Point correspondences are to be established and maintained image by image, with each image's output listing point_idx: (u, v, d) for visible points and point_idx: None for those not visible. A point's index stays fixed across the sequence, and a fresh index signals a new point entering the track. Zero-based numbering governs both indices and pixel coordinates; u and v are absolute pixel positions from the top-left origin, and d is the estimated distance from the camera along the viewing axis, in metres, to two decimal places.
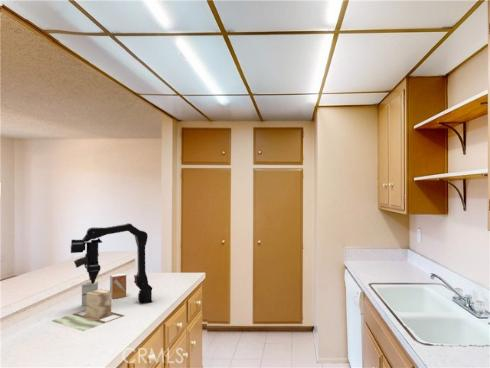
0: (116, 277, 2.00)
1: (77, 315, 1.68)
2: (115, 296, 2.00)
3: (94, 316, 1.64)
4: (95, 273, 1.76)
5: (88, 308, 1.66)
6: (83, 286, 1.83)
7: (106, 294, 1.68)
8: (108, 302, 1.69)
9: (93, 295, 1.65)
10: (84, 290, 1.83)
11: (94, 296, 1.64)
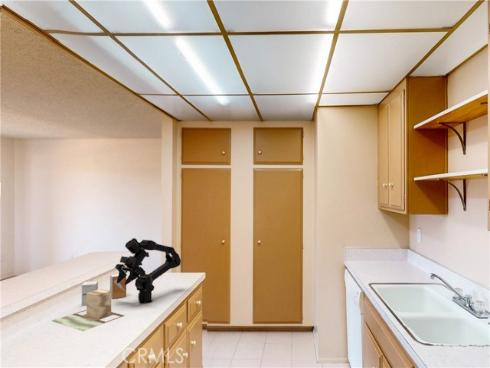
0: (116, 277, 2.00)
1: (77, 315, 1.68)
2: (115, 296, 2.00)
3: (94, 316, 1.64)
4: (133, 277, 1.82)
5: (88, 308, 1.66)
6: (83, 286, 1.83)
7: (106, 294, 1.68)
8: (108, 302, 1.69)
9: (93, 295, 1.65)
10: (84, 290, 1.83)
11: (94, 296, 1.64)
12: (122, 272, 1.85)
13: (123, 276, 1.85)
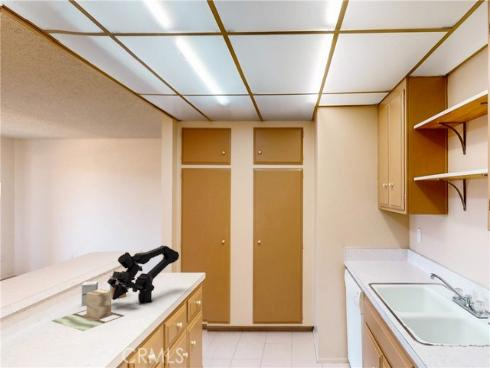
0: None
1: (77, 315, 1.68)
2: None
3: (94, 316, 1.64)
4: (122, 292, 1.79)
5: (88, 308, 1.66)
6: (83, 286, 1.83)
7: (106, 294, 1.68)
8: (108, 302, 1.69)
9: (93, 295, 1.65)
10: (84, 290, 1.83)
11: (94, 296, 1.64)
12: None
13: None
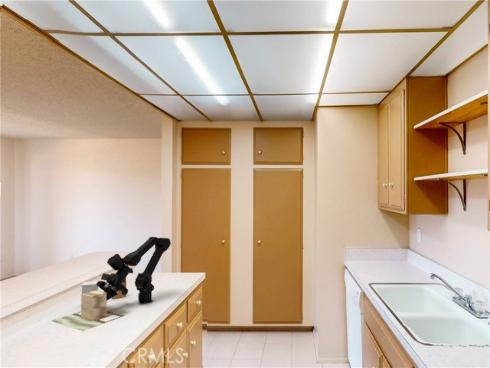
0: None
1: (77, 315, 1.68)
2: (115, 296, 2.00)
3: (89, 318, 1.62)
4: (111, 294, 1.73)
5: (83, 310, 1.64)
6: (83, 286, 1.83)
7: (101, 295, 1.65)
8: (103, 304, 1.66)
9: (88, 296, 1.62)
10: (84, 290, 1.83)
11: (89, 298, 1.62)
12: None
13: None
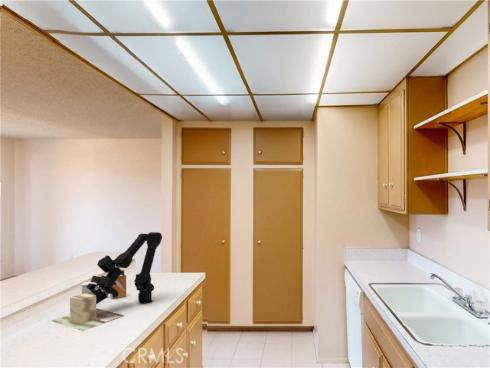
0: None
1: None
2: None
3: (78, 322, 1.57)
4: (101, 297, 1.68)
5: (72, 313, 1.59)
6: (83, 286, 1.83)
7: (90, 298, 1.61)
8: (93, 307, 1.62)
9: (77, 300, 1.58)
10: (84, 290, 1.83)
11: (78, 301, 1.57)
12: None
13: None
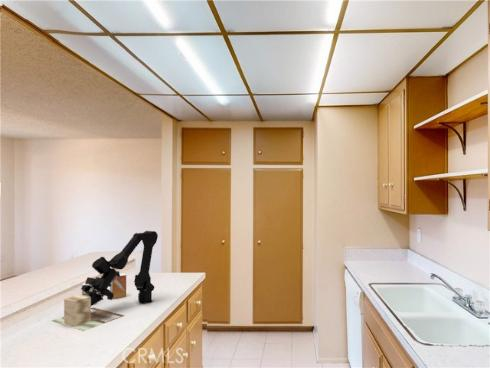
0: (116, 277, 2.00)
1: None
2: (115, 296, 2.00)
3: (72, 324, 1.54)
4: (96, 299, 1.66)
5: (66, 315, 1.57)
6: None
7: (85, 300, 1.58)
8: (87, 309, 1.59)
9: (71, 301, 1.55)
10: None
11: (72, 302, 1.55)
12: None
13: None
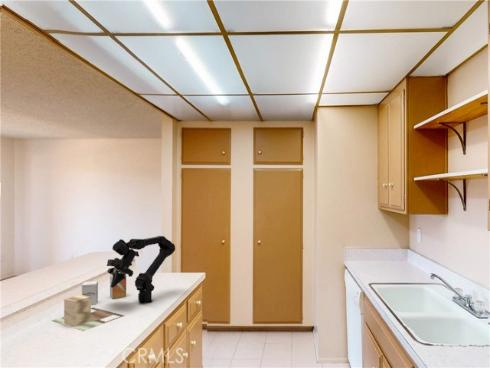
0: None
1: None
2: (115, 296, 2.00)
3: (72, 324, 1.54)
4: (120, 278, 1.78)
5: (66, 315, 1.57)
6: (83, 286, 1.83)
7: (85, 300, 1.58)
8: (87, 309, 1.59)
9: (71, 301, 1.55)
10: (84, 290, 1.83)
11: (72, 302, 1.55)
12: None
13: None
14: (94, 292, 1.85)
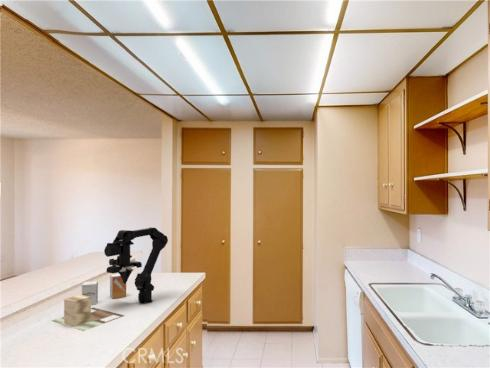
0: (116, 277, 2.00)
1: None
2: (115, 296, 2.00)
3: (72, 324, 1.54)
4: (123, 274, 1.81)
5: (66, 315, 1.57)
6: (83, 286, 1.83)
7: (85, 300, 1.58)
8: (87, 309, 1.59)
9: (71, 301, 1.55)
10: (84, 290, 1.83)
11: (72, 302, 1.55)
12: None
13: None
14: (94, 292, 1.85)
